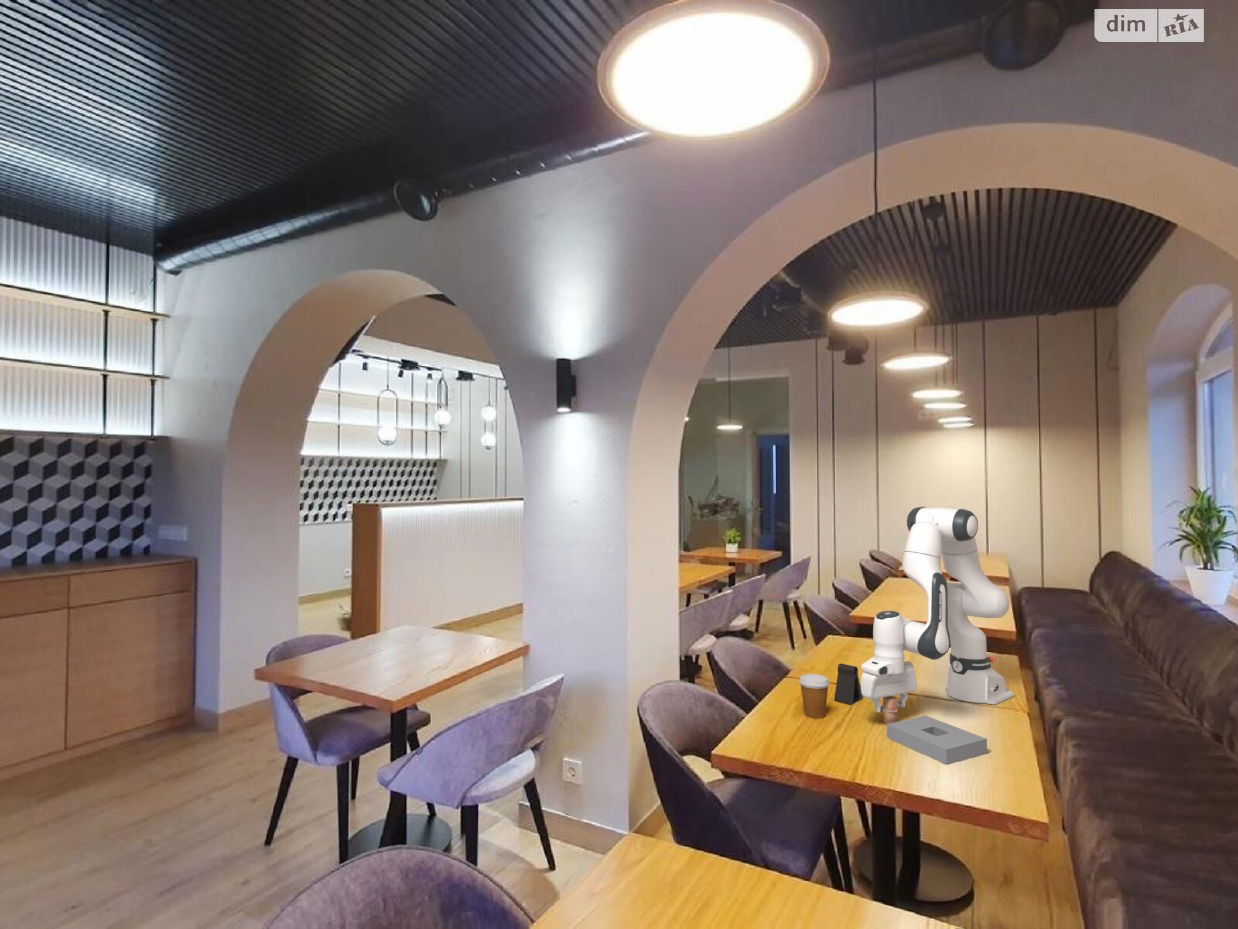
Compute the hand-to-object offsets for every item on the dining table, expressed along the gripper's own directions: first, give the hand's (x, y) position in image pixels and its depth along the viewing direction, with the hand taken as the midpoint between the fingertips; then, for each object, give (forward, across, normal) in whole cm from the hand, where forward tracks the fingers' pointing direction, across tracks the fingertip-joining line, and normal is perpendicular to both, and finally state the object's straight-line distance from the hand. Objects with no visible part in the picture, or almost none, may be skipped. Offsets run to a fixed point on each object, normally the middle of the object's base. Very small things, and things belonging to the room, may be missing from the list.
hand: (890, 709), depth 199 cm
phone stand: (+5, -4, -22) cm, 23 cm away
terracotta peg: (+4, 0, 0) cm, 5 cm away
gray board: (+4, +2, +18) cm, 18 cm away
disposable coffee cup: (+5, +16, -16) cm, 23 cm away
